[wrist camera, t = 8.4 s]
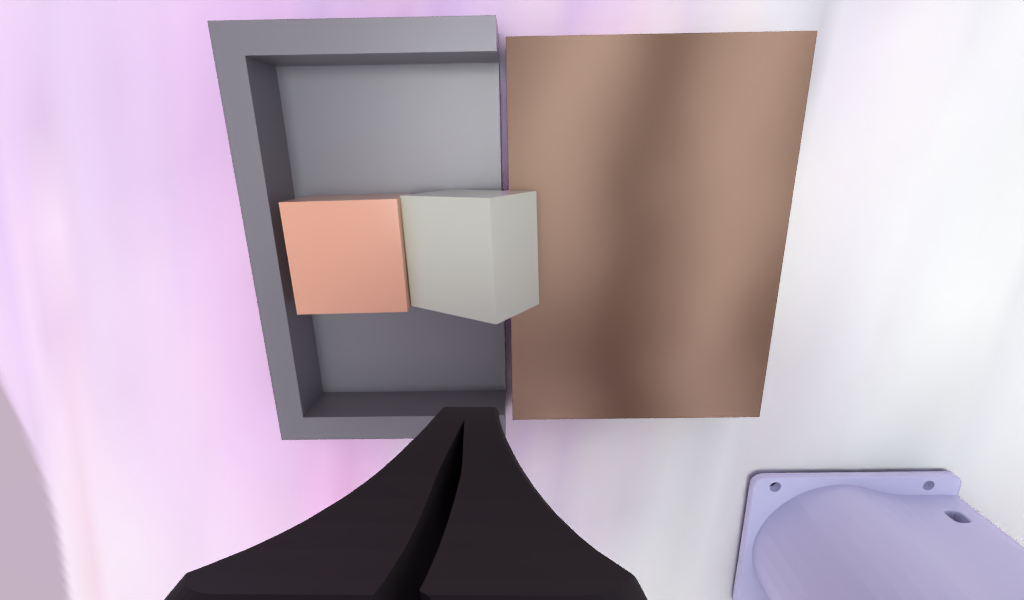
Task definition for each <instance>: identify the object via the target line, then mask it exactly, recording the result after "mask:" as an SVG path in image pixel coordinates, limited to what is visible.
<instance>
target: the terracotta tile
mask: <svg viewBox="0 0 1024 600" xmlns="http://www.w3.org/2000/svg"><path fill="white" fill-rule="evenodd" d="M409 194H412V193H389V194H354V195H318V196H305V197H301V198H296V199H291V200H287V201H282V202H279V208H280V214H281V220H282V226H283V232H284V238H285V244H286V250H287V256H288V262H289V268H290V274H291V280H292V286H293V292H294V298H295V305H296V311H297V315H299V314H340V313H381V312H408V310H409V309H410V307H411V298H410V288H409V279H408V269H407V260H406V251H405V241H404V232H403V222H402V213H401V203H400V196H401V195H409Z"/></svg>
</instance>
